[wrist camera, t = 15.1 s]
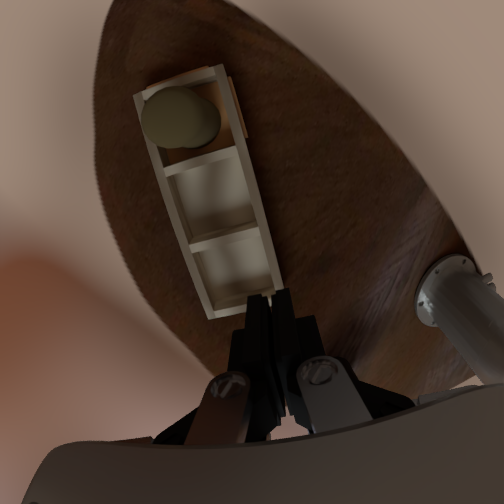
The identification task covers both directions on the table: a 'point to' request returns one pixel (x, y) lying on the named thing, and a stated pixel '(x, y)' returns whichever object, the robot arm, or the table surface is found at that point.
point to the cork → (180, 119)
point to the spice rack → (216, 202)
